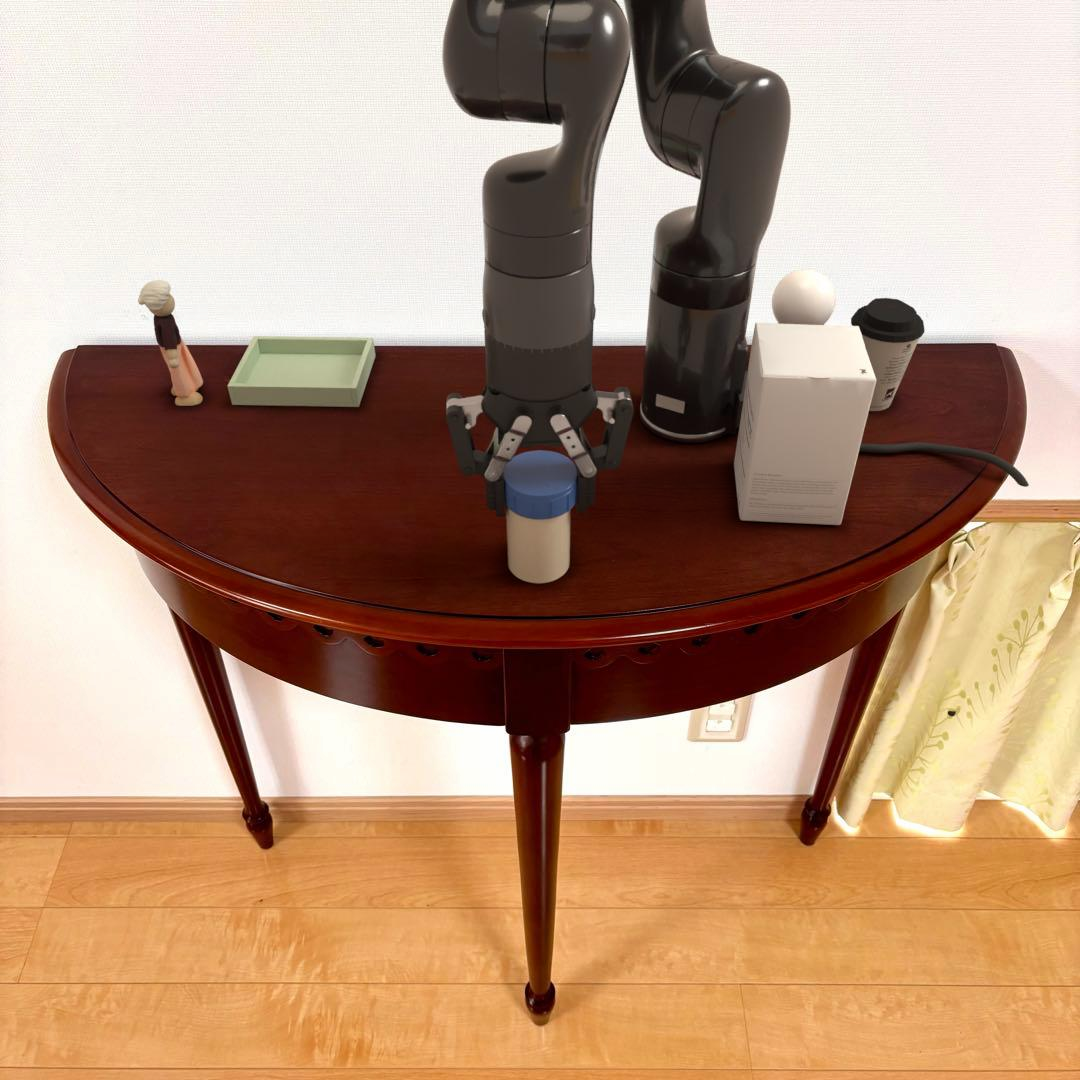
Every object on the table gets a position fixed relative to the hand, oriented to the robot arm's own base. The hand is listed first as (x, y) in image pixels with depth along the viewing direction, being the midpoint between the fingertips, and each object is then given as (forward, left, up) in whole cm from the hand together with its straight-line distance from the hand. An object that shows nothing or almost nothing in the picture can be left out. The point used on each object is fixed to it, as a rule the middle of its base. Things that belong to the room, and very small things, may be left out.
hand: (540, 507), depth 76 cm
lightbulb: (-26, -32, -6) cm, 42 cm away
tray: (+26, -28, -6) cm, 39 cm away
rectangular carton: (-22, -10, -6) cm, 25 cm away
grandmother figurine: (+38, -25, -6) cm, 46 cm away
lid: (0, 0, +3) cm, 3 cm away
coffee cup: (-33, -26, -6) cm, 42 cm away
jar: (0, 0, -6) cm, 6 cm away
